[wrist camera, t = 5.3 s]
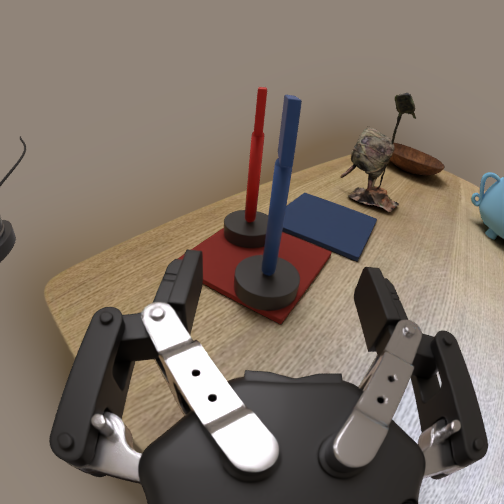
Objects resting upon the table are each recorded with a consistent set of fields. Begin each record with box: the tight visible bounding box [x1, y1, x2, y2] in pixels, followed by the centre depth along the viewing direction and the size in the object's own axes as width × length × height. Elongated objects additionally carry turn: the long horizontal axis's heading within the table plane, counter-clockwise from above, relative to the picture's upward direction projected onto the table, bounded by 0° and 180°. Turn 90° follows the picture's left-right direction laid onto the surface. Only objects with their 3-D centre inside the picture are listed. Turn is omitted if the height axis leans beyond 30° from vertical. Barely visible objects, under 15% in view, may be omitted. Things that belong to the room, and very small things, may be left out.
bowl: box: [390, 143, 444, 175], centre depth 68 cm, size 20×22×5 cm
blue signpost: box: [234, 95, 302, 311], centre depth 21 cm, size 6×6×16 cm
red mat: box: [178, 228, 332, 324], centre depth 29 cm, size 12×12×1 cm
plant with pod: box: [340, 93, 416, 212], centre depth 41 cm, size 8×11×20 cm
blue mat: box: [282, 193, 377, 261], centre depth 37 cm, size 12×12×1 cm
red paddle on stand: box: [224, 87, 268, 248], centre depth 28 cm, size 6×6×16 cm
